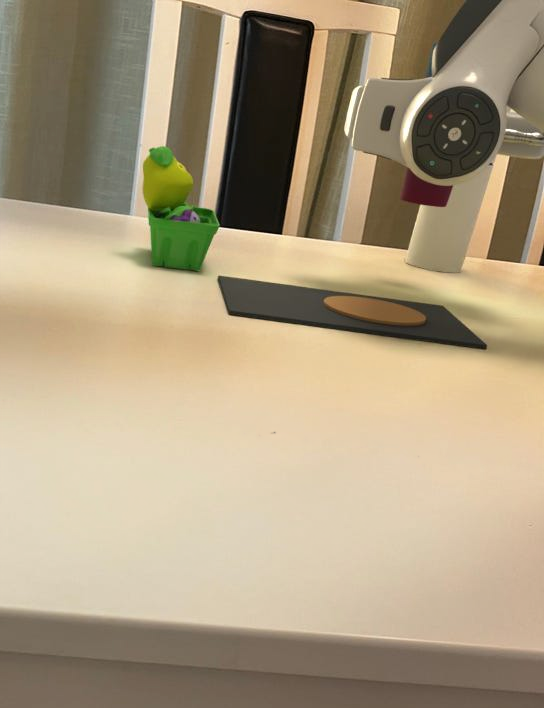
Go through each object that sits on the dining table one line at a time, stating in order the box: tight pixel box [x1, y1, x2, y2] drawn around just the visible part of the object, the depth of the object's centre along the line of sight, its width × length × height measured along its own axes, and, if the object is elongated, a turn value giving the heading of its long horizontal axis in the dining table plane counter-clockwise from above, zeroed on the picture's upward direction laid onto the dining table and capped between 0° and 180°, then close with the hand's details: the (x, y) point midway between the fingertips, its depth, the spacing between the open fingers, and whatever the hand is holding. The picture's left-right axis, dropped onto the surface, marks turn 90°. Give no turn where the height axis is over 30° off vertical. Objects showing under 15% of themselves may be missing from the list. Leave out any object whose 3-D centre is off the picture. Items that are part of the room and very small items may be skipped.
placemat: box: [217, 275, 488, 350], centre depth 99 cm, size 24×16×1 cm, turn 86°
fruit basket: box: [142, 145, 221, 272], centre depth 109 cm, size 11×9×11 cm
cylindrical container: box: [404, 106, 512, 273], centre depth 124 cm, size 7×7×25 cm
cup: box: [399, 42, 453, 207], centre depth 107 cm, size 7×7×15 cm
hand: (444, 121), depth 108 cm, fingers closed on cup, 6 cm apart
